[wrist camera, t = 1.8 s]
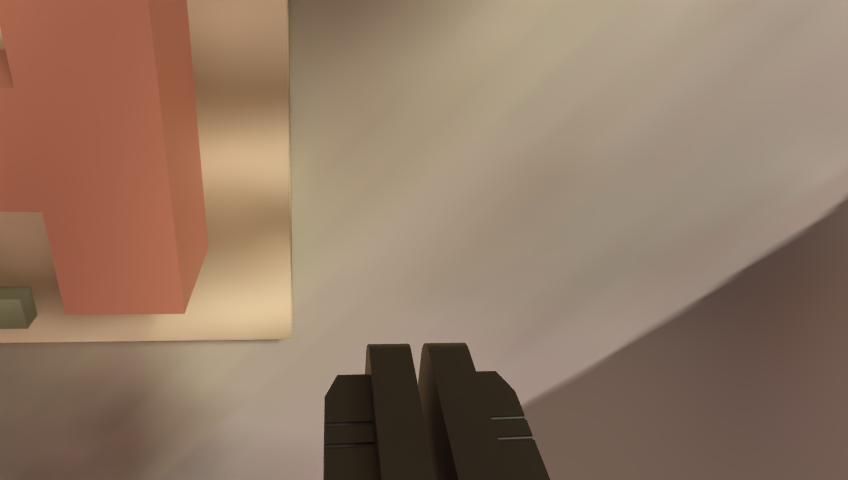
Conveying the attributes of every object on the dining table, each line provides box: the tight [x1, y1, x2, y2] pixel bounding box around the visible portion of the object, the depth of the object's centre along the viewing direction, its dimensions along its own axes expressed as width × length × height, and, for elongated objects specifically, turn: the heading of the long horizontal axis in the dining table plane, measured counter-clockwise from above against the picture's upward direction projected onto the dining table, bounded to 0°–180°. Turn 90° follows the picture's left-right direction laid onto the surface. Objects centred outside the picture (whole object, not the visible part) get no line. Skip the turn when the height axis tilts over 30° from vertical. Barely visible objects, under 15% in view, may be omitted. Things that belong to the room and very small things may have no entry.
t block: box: [0, 0, 208, 315], centre depth 20 cm, size 12×11×5 cm
